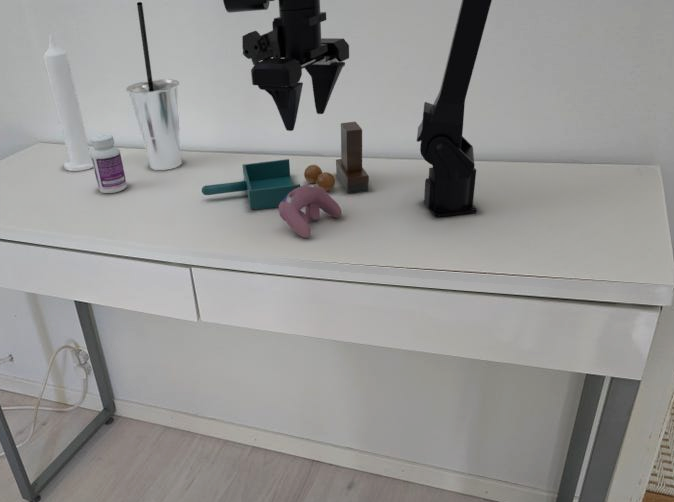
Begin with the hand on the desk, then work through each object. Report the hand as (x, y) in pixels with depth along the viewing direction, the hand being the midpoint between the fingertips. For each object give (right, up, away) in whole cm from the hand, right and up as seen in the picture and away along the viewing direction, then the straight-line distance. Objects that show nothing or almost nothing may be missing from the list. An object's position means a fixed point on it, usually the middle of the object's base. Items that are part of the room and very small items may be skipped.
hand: (305, 121), depth 101 cm
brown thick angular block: (+9, -5, +15) cm, 19 cm away
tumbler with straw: (-25, +3, +33) cm, 42 cm away
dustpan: (-9, -8, +15) cm, 19 cm away
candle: (-44, +4, +38) cm, 58 cm away
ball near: (+4, -6, +12) cm, 14 cm away
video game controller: (+1, -16, +2) cm, 16 cm away
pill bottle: (-34, -4, +24) cm, 42 cm away
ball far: (+3, -3, +16) cm, 17 cm away
